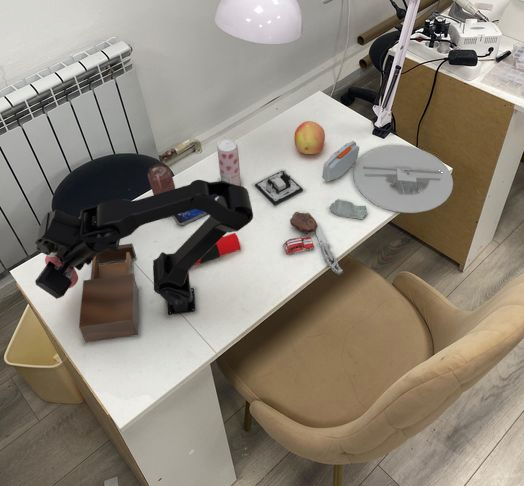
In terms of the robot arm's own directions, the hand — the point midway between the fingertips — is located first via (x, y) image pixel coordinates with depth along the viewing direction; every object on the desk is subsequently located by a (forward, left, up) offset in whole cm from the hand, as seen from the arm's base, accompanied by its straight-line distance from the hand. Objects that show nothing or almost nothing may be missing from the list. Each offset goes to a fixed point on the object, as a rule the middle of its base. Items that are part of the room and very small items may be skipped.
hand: (56, 266), depth 125 cm
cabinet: (-6, -10, -13) cm, 18 cm away
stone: (+14, -59, -14) cm, 62 cm away
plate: (+27, -91, -13) cm, 96 cm away
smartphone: (+25, -32, -13) cm, 43 cm away
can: (+26, -24, -13) cm, 38 cm away
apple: (+39, -66, -9) cm, 77 cm away
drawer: (+5, -10, -12) cm, 17 cm away
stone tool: (+19, -74, -12) cm, 77 cm away
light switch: (+33, -53, -11) cm, 64 cm away
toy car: (+6, -57, -13) cm, 59 cm away
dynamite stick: (+9, -42, -10) cm, 44 cm away
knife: (+5, -66, -12) cm, 67 cm away
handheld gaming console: (+32, -74, -13) cm, 82 cm away
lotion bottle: (-1, -1, -5) cm, 5 cm away
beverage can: (+33, -42, -13) cm, 55 cm away
